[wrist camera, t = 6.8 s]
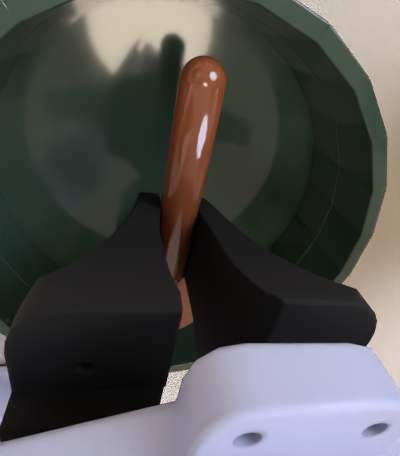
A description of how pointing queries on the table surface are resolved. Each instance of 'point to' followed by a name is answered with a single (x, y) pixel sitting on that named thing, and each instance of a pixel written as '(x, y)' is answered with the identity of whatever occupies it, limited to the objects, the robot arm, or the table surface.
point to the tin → (162, 126)
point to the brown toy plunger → (189, 163)
